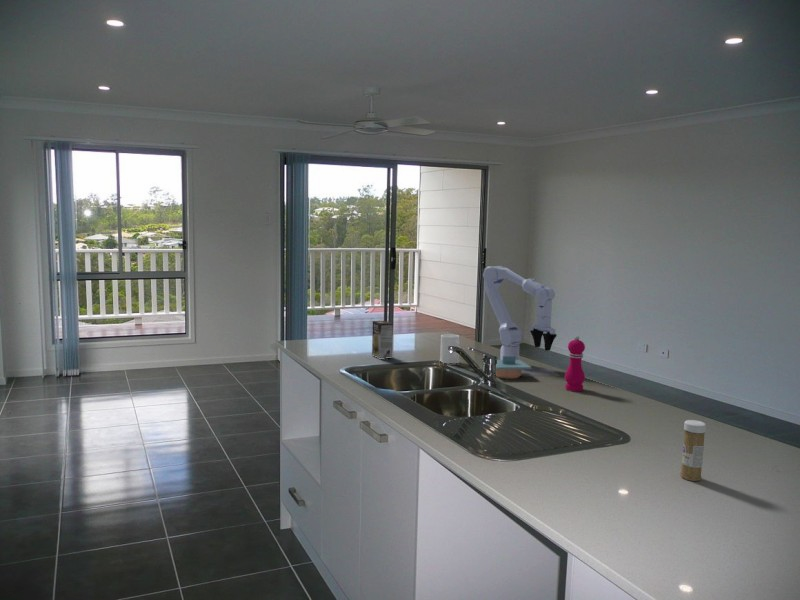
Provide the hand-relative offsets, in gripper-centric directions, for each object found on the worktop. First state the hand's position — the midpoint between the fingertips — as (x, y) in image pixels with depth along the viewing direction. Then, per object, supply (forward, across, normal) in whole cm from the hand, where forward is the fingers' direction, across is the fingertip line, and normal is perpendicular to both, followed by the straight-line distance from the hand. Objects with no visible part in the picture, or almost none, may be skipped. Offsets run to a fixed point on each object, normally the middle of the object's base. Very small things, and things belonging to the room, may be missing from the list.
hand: (542, 348), depth 257 cm
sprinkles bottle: (+10, +110, -30) cm, 115 cm away
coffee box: (+10, -42, -56) cm, 71 cm away
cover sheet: (+5, +6, -19) cm, 21 cm away
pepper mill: (+10, +30, -6) cm, 32 cm away
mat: (+9, +2, -4) cm, 11 cm away
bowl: (+9, +6, -20) cm, 23 cm away
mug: (+10, -23, -31) cm, 40 cm away
